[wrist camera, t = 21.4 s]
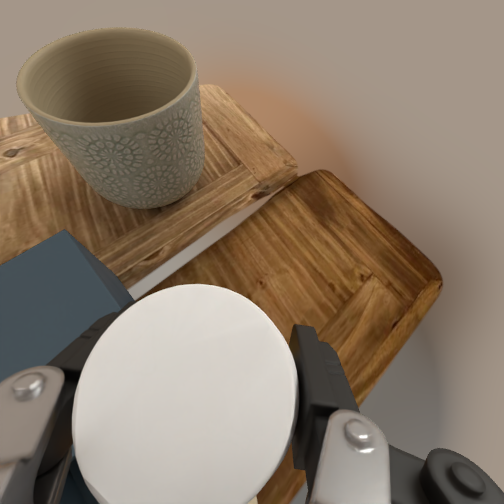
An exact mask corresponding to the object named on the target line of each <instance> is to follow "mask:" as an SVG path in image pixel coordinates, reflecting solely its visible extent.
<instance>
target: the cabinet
mask: <svg viewBox="0 0 504 504" xmlns="http://www.w3.org/2000/svg"><path fill="white" fill-rule="evenodd" d="M130 301H135V300H134V299H133V298H132V296H131V295H130V294H129V292H128V291H127V290H126V288H125V287H124V286H123V284H122V283H121V282H120V280H119V279H118V277H117V276H116V275H115V274H114V273H113V272H112V271H111V270H110V269H108V268H107V267H106V266H105V265H104V264H103V263H102V262H101V261H100V260H98V259H97V258H96V257H95V256H94V255H93V254H92V253H91V252H90V251H88V250H87V249H86V248H85V247H84V246H83V245H82V244H81V243H80V242H78V241H77V240H76V239H75V238H74V237H73V236H72V235H70V233H69V232H67V231H66V230H65V229H64V230H62V231H61V232H59V233H57V234H55V235H54V236H52V237H50V238H48V239H46V240H45V241H43V242H41V243H39V244H38V245H36V246H34V247H32V248H31V249H29V250H27V251H25V252H24V253H22V254H20V255H18V256H16V257H15V258H13V259H11V260H9V261H8V262H6V263H4V264H2V265H1V266H0V383H1V382H2V381H3V380H5V379H6V378H8V377H10V376H11V375H13V374H15V373H17V372H20V371H22V370H25V369H28V368H32V367H37V366H45V365H46V364H47V363H49V362H50V361H51V360H52V359H53V358H54V357H55V356H57V355H58V354H59V353H60V352H61V351H62V350H63V349H65V348H66V347H67V346H68V345H69V344H70V343H72V342H73V341H74V340H75V339H76V338H77V337H80V335H81V334H82V333H83V332H84V331H85V330H86V329H87V330H88V328H89V327H90V326H91V325H92V324H93V323H94V322H96V321H97V320H98V319H99V318H101V317H103V316H106V315H108V314H110V313H112V312H117V313H118V312H119V311H120V310H121V309H122V308H123V307H124V306H125V305H126V304H127V303H128V302H130ZM75 458H76V456H75V450H74V445H73V444H72V460H71V462H72V461H73V460H74V459H75Z"/></svg>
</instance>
